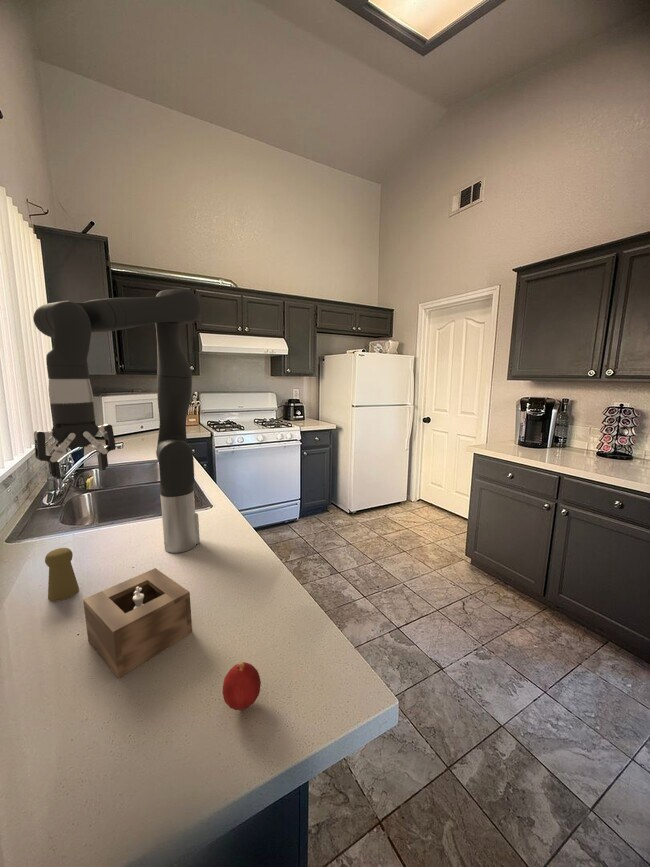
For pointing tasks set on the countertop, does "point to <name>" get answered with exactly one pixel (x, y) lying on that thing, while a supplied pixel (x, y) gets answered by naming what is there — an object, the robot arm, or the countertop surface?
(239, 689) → the red oval fruit
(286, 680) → the countertop surface
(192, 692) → the countertop surface
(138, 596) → the chess piece
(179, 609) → the drop box
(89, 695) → the countertop surface
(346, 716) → the countertop surface
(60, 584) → the cork
